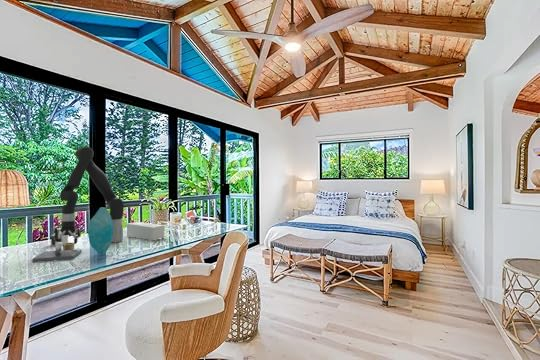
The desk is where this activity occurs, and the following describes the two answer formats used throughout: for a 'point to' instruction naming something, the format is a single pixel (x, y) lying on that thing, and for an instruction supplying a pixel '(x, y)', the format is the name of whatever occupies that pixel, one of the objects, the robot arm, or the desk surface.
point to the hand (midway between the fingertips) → (67, 244)
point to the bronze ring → (68, 246)
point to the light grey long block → (145, 230)
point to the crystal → (101, 231)
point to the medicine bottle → (54, 240)
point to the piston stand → (57, 254)
